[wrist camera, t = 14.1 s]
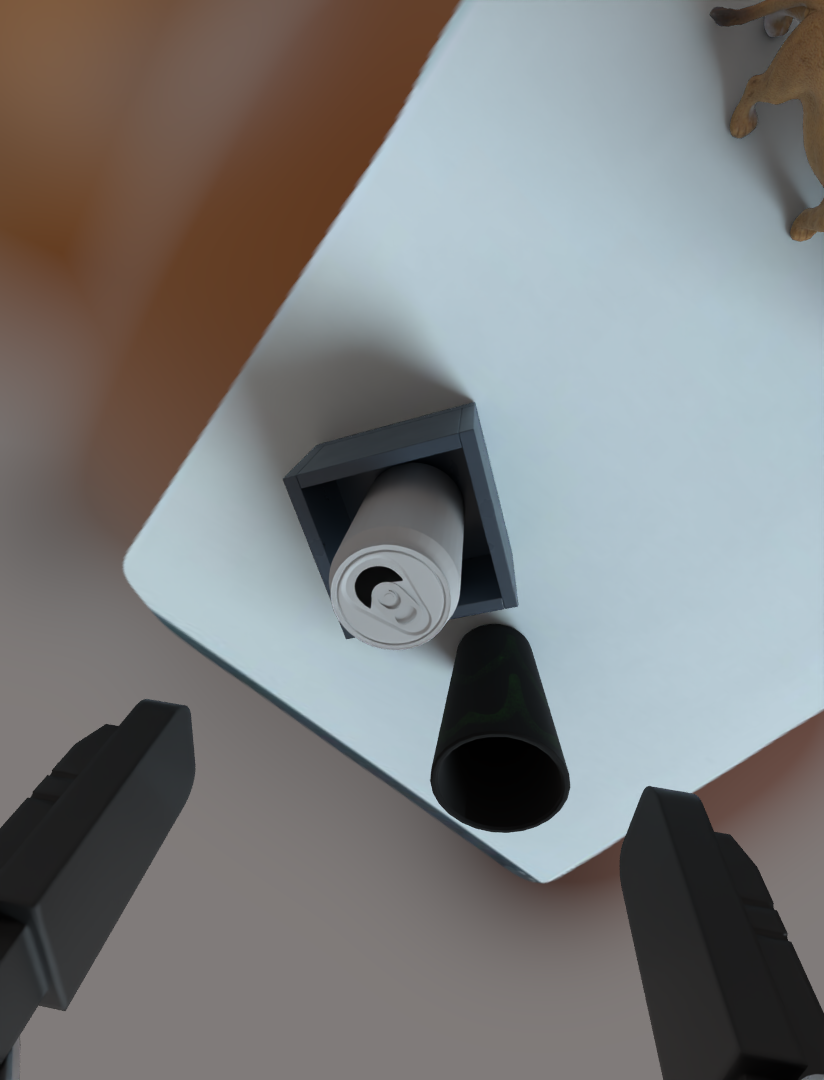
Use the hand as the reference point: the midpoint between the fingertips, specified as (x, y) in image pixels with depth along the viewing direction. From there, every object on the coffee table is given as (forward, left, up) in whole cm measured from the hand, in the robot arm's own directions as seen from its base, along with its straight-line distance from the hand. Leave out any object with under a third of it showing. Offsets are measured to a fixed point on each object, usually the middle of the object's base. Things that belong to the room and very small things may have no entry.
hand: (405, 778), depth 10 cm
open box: (+4, +4, -28) cm, 29 cm away
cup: (+2, +18, -28) cm, 33 cm away
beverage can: (+4, +4, -27) cm, 28 cm away
